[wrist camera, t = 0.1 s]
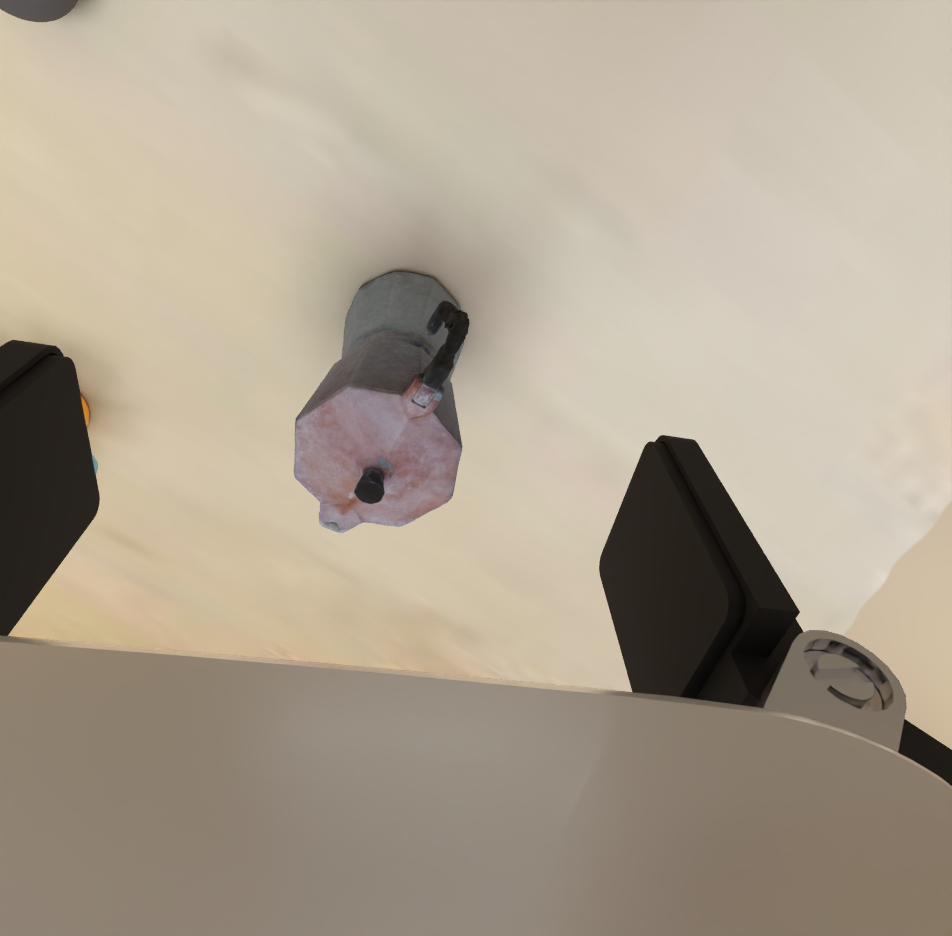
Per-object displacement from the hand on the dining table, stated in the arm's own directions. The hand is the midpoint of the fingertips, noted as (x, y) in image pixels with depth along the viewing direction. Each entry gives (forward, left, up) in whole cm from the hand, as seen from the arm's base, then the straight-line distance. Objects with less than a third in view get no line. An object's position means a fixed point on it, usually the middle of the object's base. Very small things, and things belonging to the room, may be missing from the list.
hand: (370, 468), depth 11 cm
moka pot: (+12, 0, -37) cm, 39 cm away
